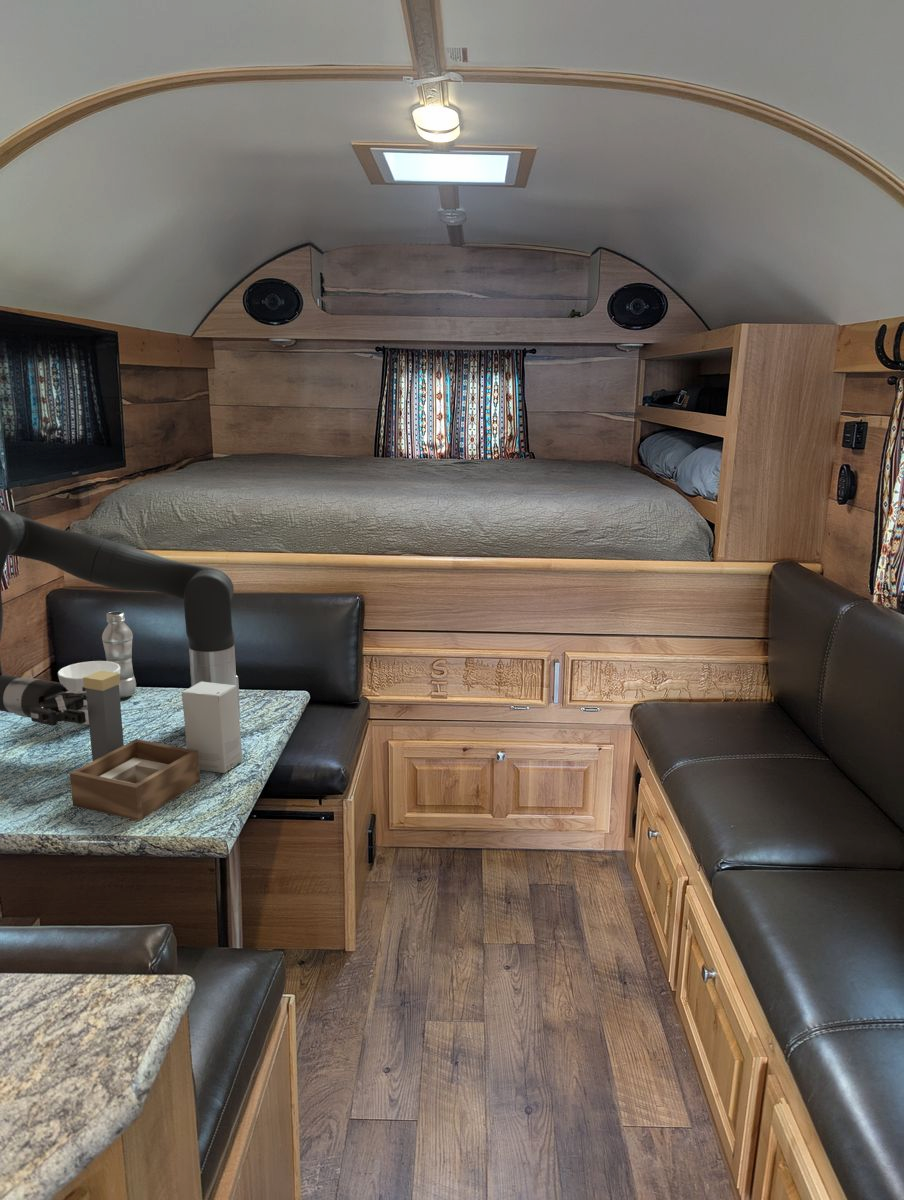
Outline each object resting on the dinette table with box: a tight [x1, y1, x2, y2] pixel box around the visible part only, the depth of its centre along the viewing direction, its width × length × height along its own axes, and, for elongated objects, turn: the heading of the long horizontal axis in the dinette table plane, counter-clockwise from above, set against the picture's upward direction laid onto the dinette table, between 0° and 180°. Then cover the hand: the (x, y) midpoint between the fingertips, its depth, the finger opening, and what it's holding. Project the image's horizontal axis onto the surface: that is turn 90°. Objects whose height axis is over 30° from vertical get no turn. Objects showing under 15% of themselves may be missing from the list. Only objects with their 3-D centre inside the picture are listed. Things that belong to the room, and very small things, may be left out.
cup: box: [57, 660, 121, 726], centre depth 181 cm, size 12×12×11 cm
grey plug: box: [83, 671, 125, 762], centre depth 156 cm, size 4×4×18 cm
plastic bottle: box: [101, 611, 137, 699], centre depth 193 cm, size 6×7×20 cm
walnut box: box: [69, 739, 201, 822], centre depth 147 cm, size 16×14×6 cm
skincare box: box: [181, 682, 243, 774], centre depth 158 cm, size 8×7×16 cm
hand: (101, 710), depth 156 cm, fingers open, 8 cm apart
